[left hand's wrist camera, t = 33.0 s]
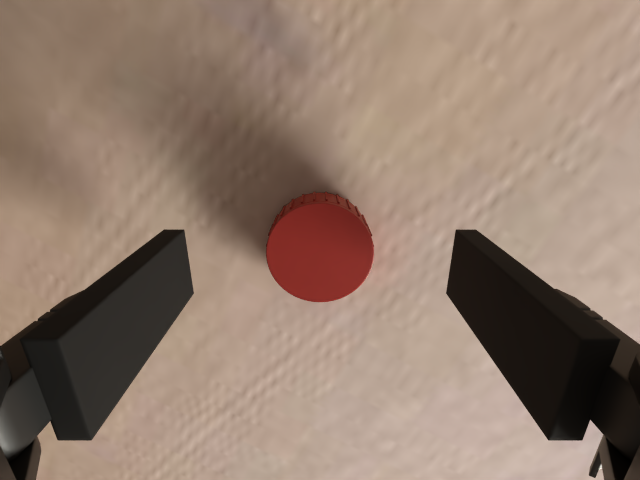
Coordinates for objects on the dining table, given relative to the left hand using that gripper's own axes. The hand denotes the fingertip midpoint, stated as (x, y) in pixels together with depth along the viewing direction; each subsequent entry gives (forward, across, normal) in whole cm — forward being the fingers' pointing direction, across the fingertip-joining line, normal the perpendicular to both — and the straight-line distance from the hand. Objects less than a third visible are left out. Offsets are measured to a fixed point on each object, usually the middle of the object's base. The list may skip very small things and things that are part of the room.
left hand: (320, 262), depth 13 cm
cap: (+1, 0, 0) cm, 1 cm away
